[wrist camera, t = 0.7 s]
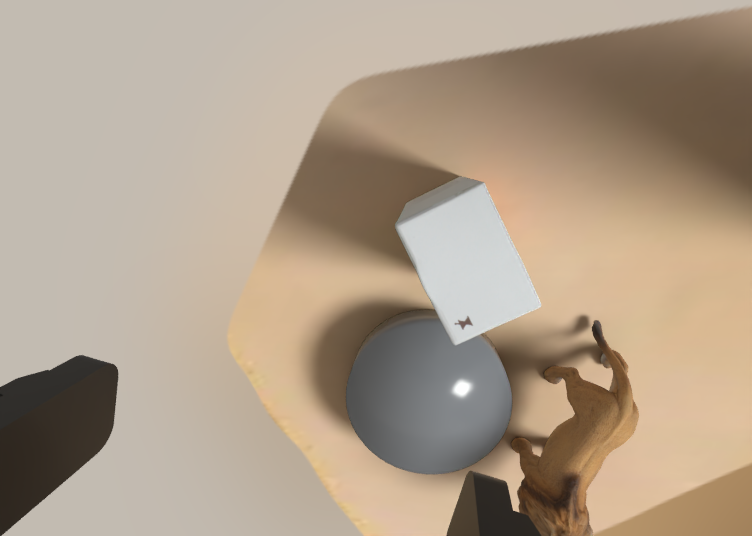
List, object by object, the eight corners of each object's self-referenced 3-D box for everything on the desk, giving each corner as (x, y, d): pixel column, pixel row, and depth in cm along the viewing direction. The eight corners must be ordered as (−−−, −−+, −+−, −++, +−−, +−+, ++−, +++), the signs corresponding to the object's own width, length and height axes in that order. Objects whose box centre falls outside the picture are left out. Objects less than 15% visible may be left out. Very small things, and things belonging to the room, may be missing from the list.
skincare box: (500, 253, 30) (546, 311, 19) (442, 280, 31) (452, 351, 20) (462, 171, 29) (485, 178, 18) (403, 201, 30) (389, 226, 19)
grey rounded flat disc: (497, 301, 31) (504, 316, 28) (510, 442, 33) (518, 469, 31) (341, 318, 33) (333, 333, 30) (364, 452, 35) (359, 478, 32)
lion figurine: (562, 503, 34) (609, 620, 25) (493, 485, 34) (516, 595, 26) (630, 326, 31) (712, 392, 22) (552, 307, 31) (602, 365, 22)
